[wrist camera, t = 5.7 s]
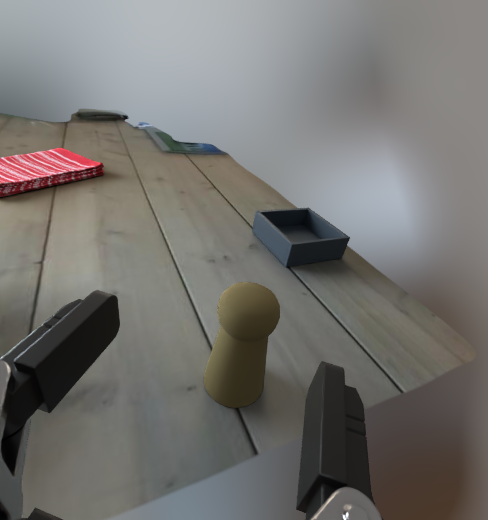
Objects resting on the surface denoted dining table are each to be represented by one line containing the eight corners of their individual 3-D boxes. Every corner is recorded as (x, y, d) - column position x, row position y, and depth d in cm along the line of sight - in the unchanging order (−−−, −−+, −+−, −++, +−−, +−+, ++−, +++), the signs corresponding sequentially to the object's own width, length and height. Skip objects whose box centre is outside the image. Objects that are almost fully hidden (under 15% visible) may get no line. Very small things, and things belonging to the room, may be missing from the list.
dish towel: (108, 174, 70) (107, 163, 69) (-6, 200, 52) (-11, 185, 51) (61, 155, 76) (59, 144, 75) (-56, 173, 58) (-62, 159, 57)
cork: (274, 398, 29) (303, 314, 23) (213, 416, 26) (229, 328, 21) (250, 349, 33) (269, 268, 27) (196, 360, 31) (205, 276, 25)
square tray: (342, 258, 54) (350, 237, 51) (285, 267, 48) (291, 244, 46) (303, 226, 63) (308, 207, 60) (251, 231, 57) (255, 210, 55)
